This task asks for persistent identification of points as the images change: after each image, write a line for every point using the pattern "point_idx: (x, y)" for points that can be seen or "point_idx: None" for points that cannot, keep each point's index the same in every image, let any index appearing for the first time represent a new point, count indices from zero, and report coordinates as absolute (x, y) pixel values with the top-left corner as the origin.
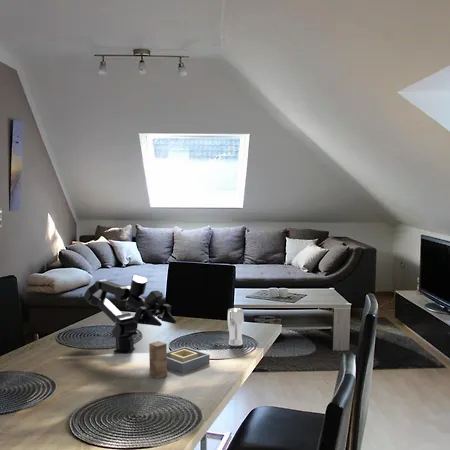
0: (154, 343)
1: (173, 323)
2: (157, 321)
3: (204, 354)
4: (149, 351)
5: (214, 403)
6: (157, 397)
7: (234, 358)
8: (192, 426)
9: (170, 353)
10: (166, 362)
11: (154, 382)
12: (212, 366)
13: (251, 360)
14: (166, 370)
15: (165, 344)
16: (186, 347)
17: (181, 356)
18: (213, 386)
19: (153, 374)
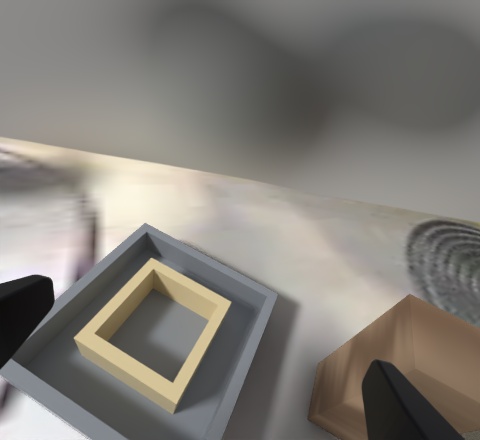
0: (474, 377)
1: (36, 326)
2: (448, 433)
3: (138, 241)
4: (463, 431)
5: (379, 209)
6: None
7: (87, 188)
8: (467, 228)
9: (175, 400)
10: (348, 342)
11: None
12: (176, 234)
13: (108, 157)
14: (330, 356)
15: (415, 299)
16: None
17: (212, 315)
18: (313, 217)
19: None
